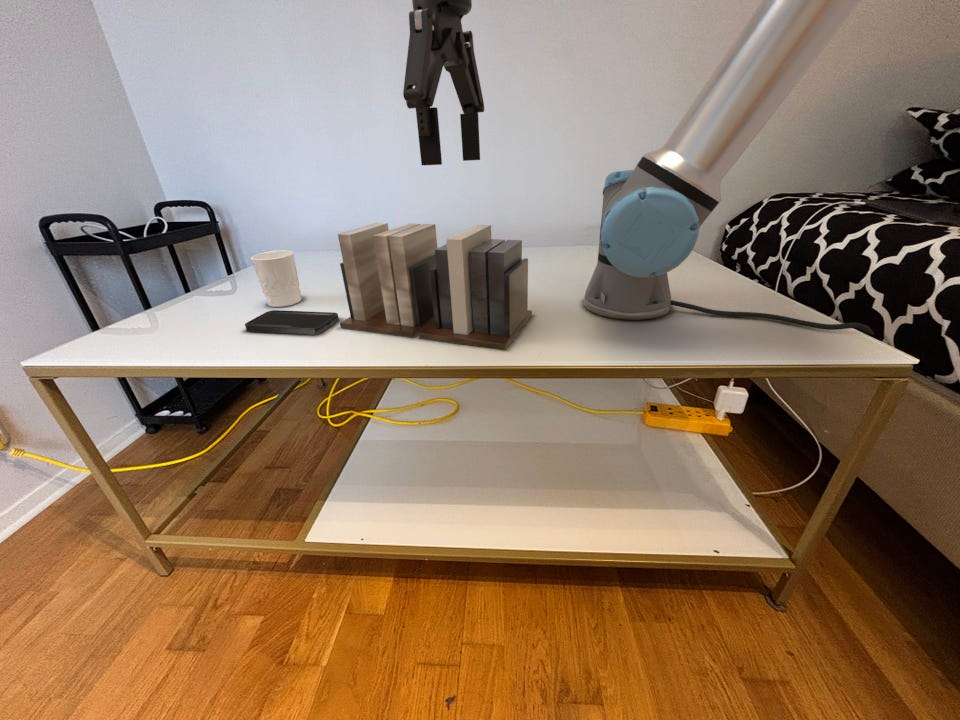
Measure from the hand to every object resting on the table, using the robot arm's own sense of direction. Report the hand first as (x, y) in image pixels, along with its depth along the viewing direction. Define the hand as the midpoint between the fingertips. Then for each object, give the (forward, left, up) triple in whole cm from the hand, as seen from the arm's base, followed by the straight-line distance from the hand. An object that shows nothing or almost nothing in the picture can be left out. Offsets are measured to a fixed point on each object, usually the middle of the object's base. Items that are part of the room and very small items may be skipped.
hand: (453, 162), depth 61 cm
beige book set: (+13, 0, -26) cm, 29 cm away
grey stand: (-3, 0, -26) cm, 26 cm away
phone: (+30, +9, -26) cm, 41 cm away
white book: (-2, 0, -25) cm, 25 cm away
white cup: (+42, -1, -26) cm, 49 cm away
